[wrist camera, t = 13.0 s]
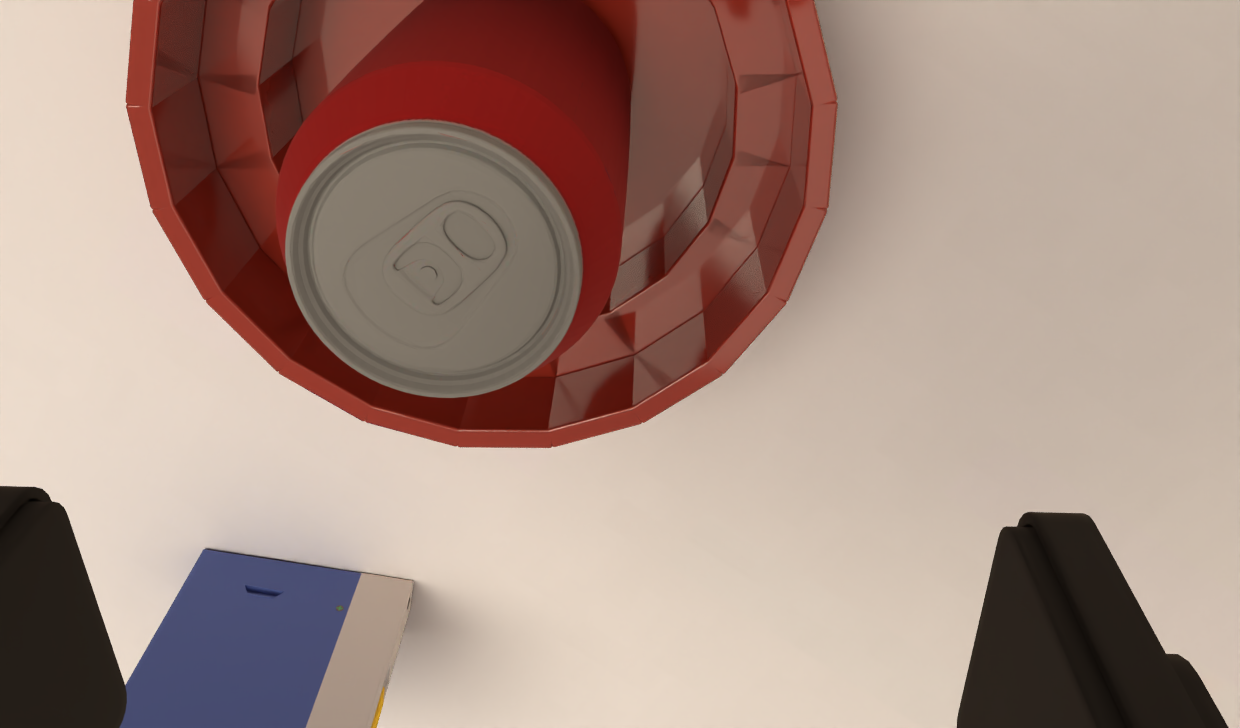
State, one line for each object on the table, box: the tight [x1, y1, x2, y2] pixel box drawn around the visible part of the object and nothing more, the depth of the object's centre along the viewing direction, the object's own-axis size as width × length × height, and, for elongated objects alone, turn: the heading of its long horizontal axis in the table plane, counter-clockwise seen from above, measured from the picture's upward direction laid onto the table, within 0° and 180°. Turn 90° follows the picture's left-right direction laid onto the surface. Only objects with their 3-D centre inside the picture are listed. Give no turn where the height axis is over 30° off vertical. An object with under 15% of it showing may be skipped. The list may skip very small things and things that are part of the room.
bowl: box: [126, 0, 838, 448], centre depth 27 cm, size 16×16×6 cm
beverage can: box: [276, 0, 631, 398], centre depth 24 cm, size 7×7×12 cm
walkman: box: [120, 549, 414, 728], centre depth 34 cm, size 8×3×12 cm, turn 80°
